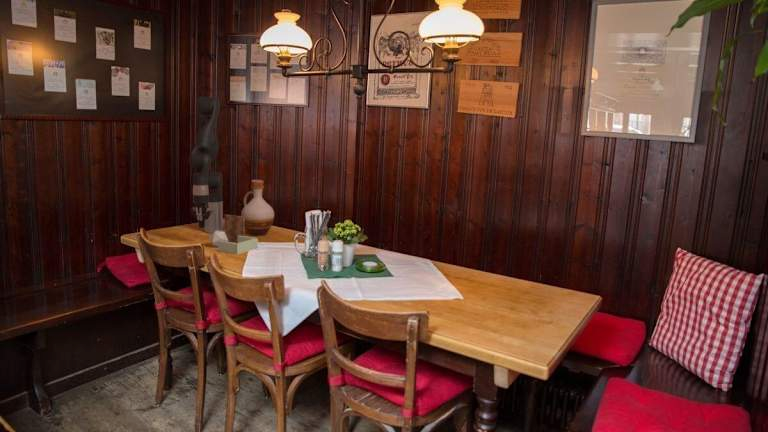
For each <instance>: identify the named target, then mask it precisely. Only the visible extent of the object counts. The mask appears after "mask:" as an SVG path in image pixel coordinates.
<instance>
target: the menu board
mask: <svg viewBox="0 0 768 432" xmlns="http://www.w3.org/2000/svg"><path fill="white" fill-rule="evenodd" d="M245 231H246V228H245V217H242V216H241V215H232V214H226V213H225V214H224V232H225V234H226V236H227V239H228V242H231V243H238V236H239V235H240V236H246V234H245V233H246V232H245Z"/></svg>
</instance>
